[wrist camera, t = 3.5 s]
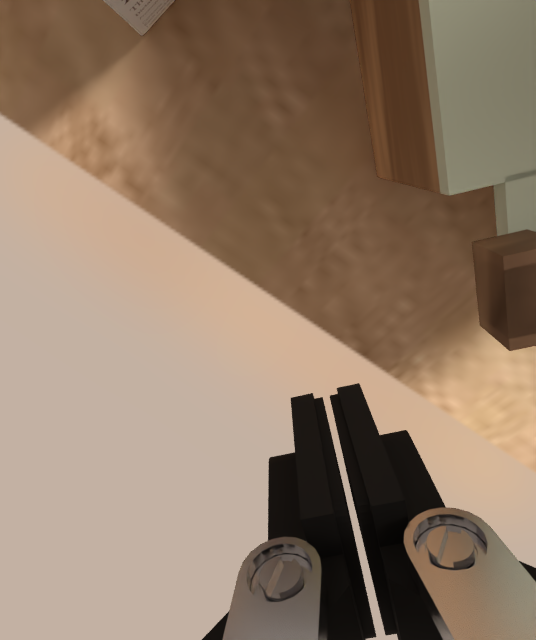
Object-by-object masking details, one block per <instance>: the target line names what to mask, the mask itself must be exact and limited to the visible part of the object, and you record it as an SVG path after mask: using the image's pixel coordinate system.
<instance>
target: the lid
mask: <svg viewBox="0 0 536 640" xmlns="http://www.w3.org/2000/svg"><path fill="white" fill-rule="evenodd" d="M419 8H420V17H421V26H422V35H423V44H424V52H425V61H426V70H427V79H428V88H429V97H430V106H431V114H432V123H433V132H434V141H435V150H436V159H437V168H438V177H439V185H440V193H441V194H445V195H449V196H450V195H455V194H459V193H463V192H467V191H471V190H475V189H479V188H484V187H488V186H492V185H493V188H494V202H495V215H496V229H497V236H500V235H505V234H509V233H513V232H518V231H522V230H526V229H528V230H531V231H534V232H536V0H419Z"/></svg>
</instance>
